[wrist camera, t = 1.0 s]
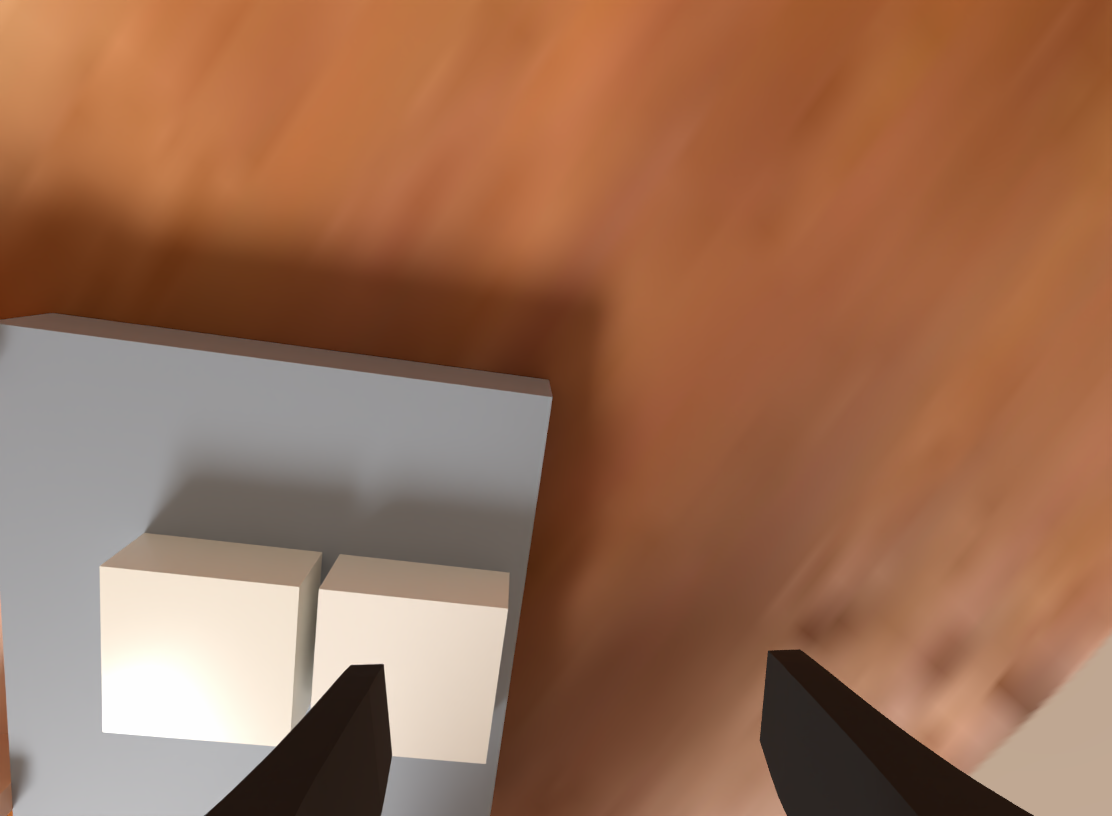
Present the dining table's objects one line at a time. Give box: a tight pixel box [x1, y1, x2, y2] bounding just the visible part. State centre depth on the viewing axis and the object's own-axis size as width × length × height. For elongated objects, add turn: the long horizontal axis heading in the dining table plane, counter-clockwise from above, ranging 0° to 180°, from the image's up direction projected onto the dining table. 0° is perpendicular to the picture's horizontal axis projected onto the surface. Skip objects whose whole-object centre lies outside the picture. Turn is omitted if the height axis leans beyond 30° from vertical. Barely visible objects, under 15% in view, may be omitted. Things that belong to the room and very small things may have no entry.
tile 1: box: [311, 554, 510, 764], centre depth 19 cm, size 5×5×2 cm
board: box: [0, 313, 553, 816], centre depth 20 cm, size 16×15×2 cm
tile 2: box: [99, 533, 322, 746], centre depth 18 cm, size 5×5×2 cm
